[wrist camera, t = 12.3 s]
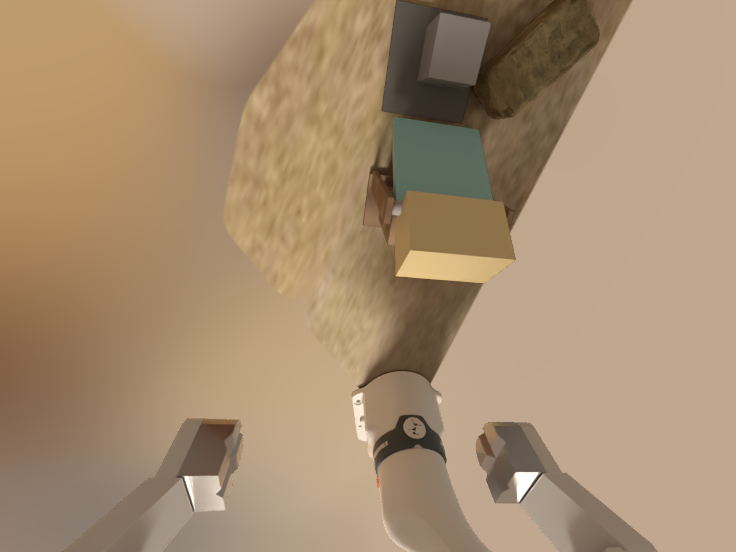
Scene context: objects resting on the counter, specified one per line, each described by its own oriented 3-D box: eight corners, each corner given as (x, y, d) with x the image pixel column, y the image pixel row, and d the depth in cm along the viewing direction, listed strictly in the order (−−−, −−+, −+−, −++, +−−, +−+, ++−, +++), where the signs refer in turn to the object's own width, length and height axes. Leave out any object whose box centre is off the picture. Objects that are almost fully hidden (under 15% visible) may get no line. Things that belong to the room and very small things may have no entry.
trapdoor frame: (449, 232, 43) (492, 280, 31) (363, 223, 42) (371, 271, 29) (463, 181, 40) (519, 212, 27) (370, 169, 38) (383, 196, 26)
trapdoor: (491, 283, 29) (523, 260, 24) (388, 275, 27) (401, 249, 23) (468, 150, 36) (489, 113, 32) (386, 138, 35) (396, 99, 30)
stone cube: (475, 85, 30) (458, 88, 34) (491, 22, 28) (471, 35, 32) (428, 77, 29) (417, 81, 34) (440, 12, 27) (426, 26, 31)
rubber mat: (460, 123, 36) (461, 123, 36) (381, 110, 35) (382, 110, 35) (486, 19, 32) (487, 18, 31) (396, 1, 30) (396, 0, 30)
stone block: (574, 46, 34) (608, 37, 29) (489, 123, 37) (508, 125, 33) (552, -4, 31) (586, -22, 27) (464, 83, 35) (481, 79, 30)
